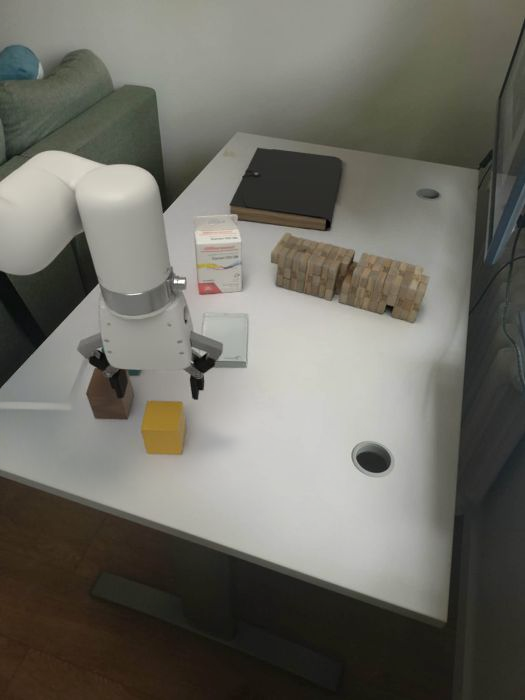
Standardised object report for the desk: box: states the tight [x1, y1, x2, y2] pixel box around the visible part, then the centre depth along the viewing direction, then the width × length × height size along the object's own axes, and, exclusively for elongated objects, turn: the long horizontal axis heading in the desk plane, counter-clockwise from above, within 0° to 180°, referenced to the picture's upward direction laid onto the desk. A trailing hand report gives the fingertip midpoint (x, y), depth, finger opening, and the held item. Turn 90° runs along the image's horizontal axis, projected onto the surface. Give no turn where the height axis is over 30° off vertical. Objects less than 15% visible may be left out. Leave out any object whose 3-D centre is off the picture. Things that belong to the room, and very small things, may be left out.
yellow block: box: [140, 400, 187, 456], centre depth 70 cm, size 5×5×6 cm
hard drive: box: [198, 312, 249, 369], centre depth 87 cm, size 2×8×12 cm
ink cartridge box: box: [193, 214, 243, 295], centre depth 94 cm, size 9×5×15 cm, turn 100°
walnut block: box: [85, 367, 135, 420], centre depth 75 cm, size 5×5×6 cm
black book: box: [229, 147, 343, 232], centre depth 126 cm, size 33×4×24 cm
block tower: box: [270, 232, 430, 324], centre depth 96 cm, size 8×8×29 cm
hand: (159, 390), depth 65 cm, fingers open, 9 cm apart
